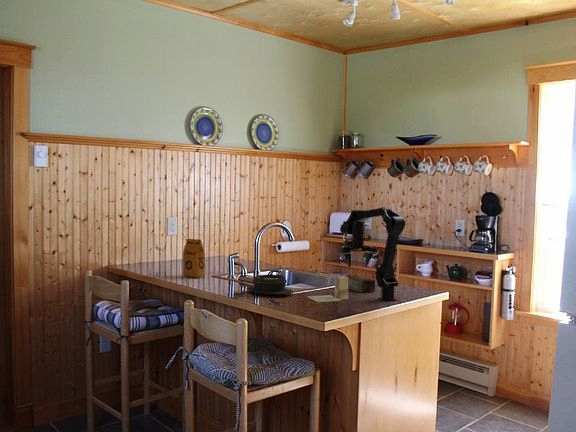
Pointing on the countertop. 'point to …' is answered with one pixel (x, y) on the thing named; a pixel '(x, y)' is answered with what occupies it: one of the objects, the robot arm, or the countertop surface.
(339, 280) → the beige bevelled block
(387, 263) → the robot arm
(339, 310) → the countertop surface
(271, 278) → the casserole
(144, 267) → the countertop surface
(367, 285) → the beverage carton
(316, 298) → the mat
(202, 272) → the coffee package
